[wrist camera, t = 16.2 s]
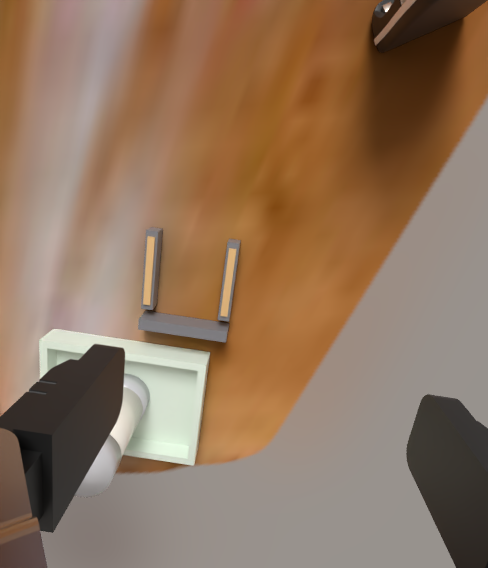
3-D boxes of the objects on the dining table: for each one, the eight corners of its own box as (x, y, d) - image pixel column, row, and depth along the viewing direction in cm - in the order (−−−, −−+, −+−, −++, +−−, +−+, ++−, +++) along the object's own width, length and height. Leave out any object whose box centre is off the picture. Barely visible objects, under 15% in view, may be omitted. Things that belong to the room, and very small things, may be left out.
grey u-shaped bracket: (144, 320, 36) (138, 329, 34) (151, 227, 34) (144, 230, 32) (227, 333, 36) (225, 342, 34) (240, 240, 34) (239, 244, 32)
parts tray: (54, 425, 40) (41, 442, 38) (53, 328, 37) (39, 339, 35) (198, 447, 40) (194, 465, 38) (210, 352, 37) (206, 365, 35)
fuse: (101, 410, 38) (48, 491, 29) (104, 369, 37) (49, 440, 28) (147, 418, 38) (109, 502, 29) (152, 377, 37) (114, 451, 28)
